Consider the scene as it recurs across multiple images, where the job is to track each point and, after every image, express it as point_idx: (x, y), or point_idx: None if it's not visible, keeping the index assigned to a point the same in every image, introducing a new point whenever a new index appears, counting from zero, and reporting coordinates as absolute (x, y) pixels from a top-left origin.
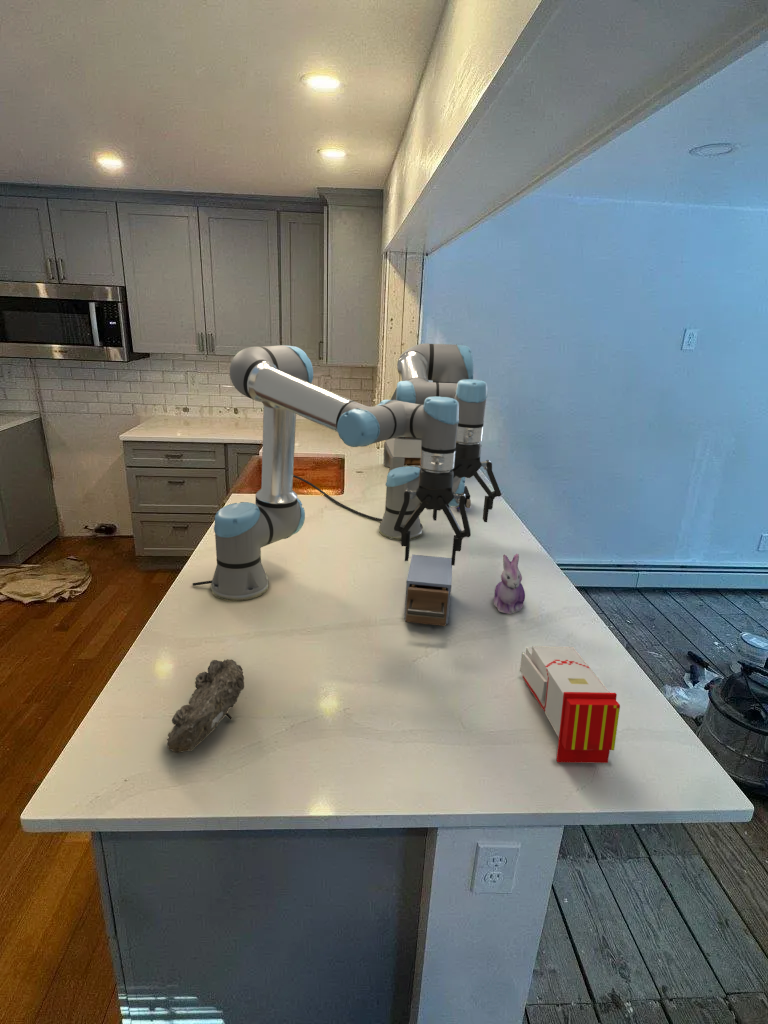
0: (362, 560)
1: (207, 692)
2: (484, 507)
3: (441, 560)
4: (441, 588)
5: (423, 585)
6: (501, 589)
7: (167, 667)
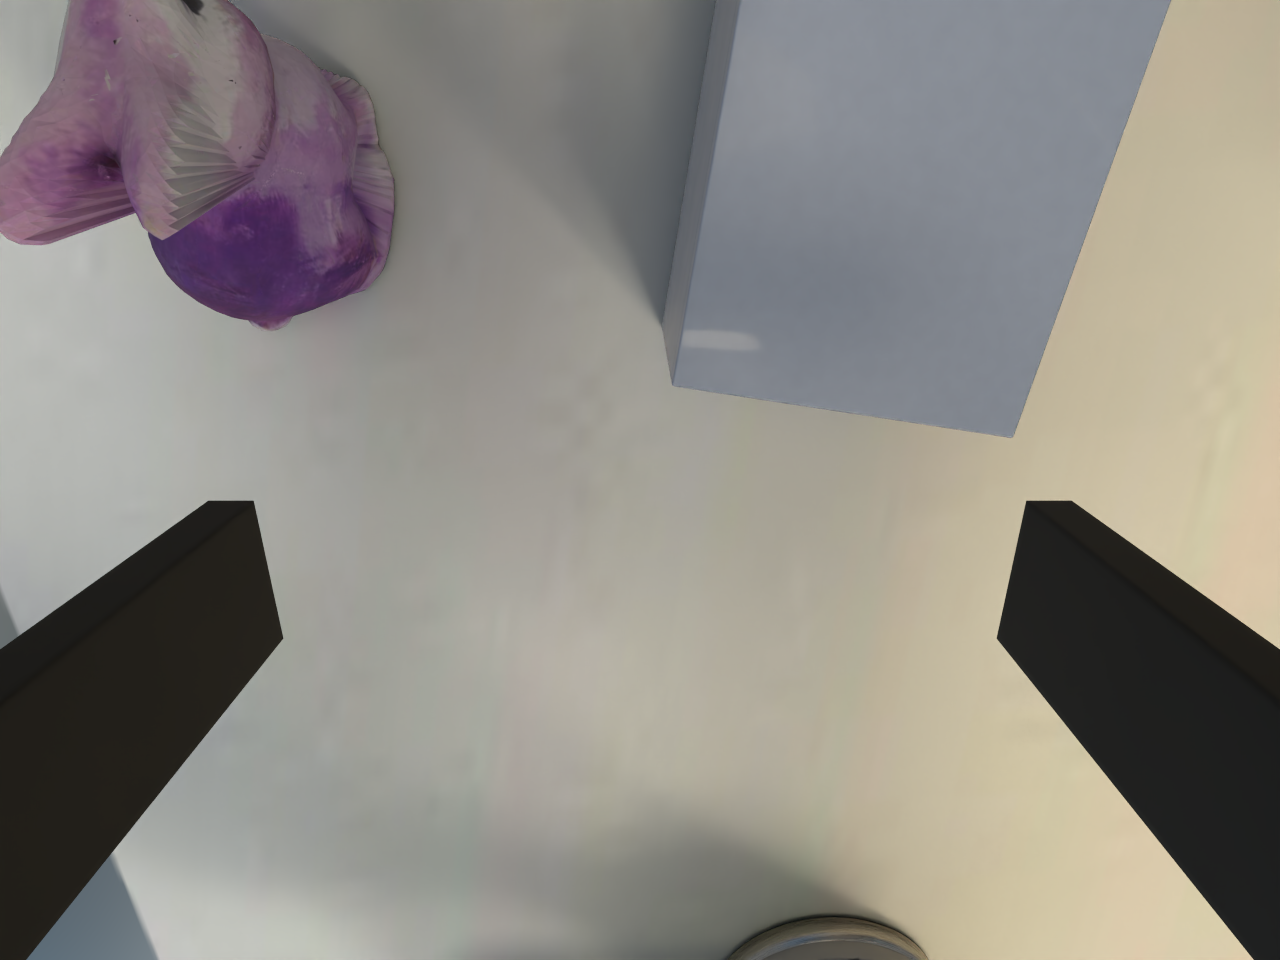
0: None
1: None
2: (145, 732)
3: (781, 327)
4: None
5: None
6: (303, 85)
7: None
